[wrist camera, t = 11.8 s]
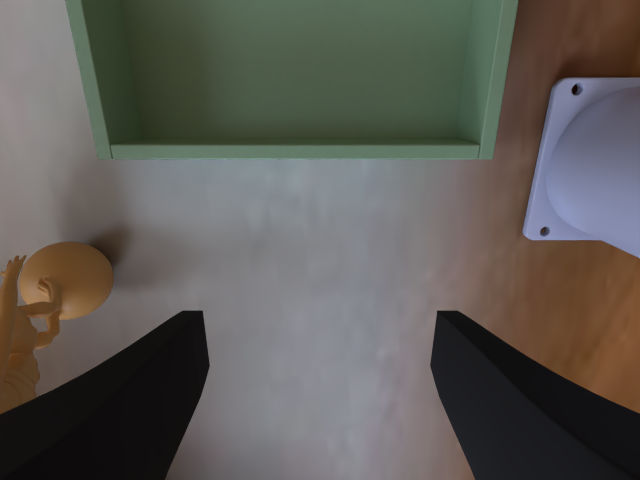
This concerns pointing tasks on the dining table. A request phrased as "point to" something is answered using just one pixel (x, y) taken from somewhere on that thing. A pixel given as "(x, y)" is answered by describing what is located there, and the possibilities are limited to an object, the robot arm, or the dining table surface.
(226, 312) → the dining table surface
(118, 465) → the robot arm
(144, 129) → the crate
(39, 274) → the figurine
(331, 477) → the dining table surface
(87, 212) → the dining table surface
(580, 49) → the dining table surface
